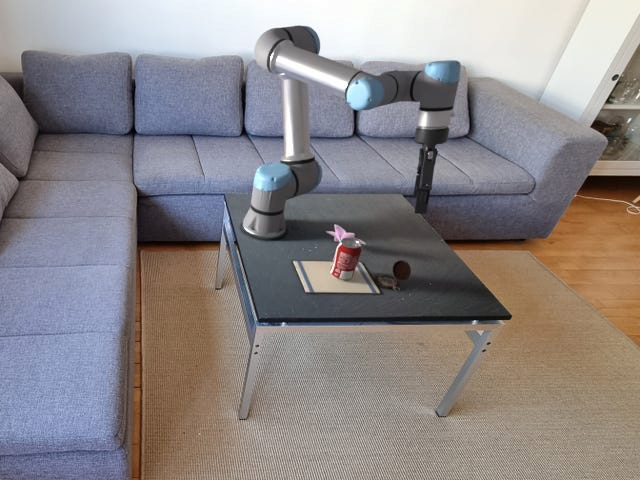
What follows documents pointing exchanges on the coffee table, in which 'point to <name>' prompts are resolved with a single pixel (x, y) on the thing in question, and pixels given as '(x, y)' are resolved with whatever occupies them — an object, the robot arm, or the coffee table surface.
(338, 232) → the lily
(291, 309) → the coffee table surface
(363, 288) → the cloth
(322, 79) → the robot arm
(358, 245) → the soda can
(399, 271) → the compass
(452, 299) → the coffee table surface
